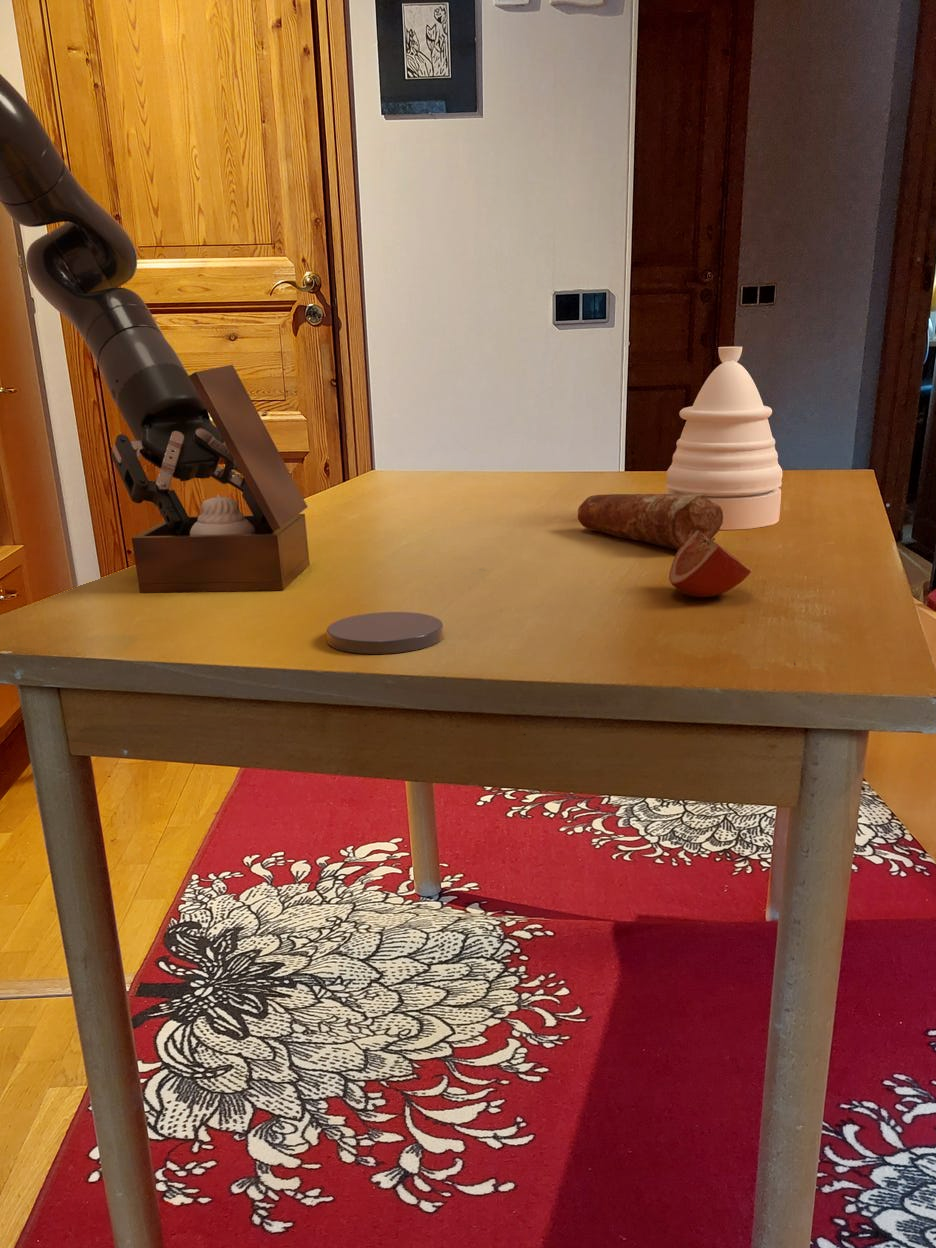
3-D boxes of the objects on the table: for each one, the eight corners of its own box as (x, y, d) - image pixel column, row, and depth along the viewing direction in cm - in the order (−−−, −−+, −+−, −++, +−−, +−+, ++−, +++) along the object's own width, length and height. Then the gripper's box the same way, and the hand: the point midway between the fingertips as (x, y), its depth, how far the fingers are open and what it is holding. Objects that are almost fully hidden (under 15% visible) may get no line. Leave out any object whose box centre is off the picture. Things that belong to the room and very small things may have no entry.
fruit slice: (660, 585, 104) (662, 528, 102) (735, 583, 104) (738, 525, 102) (677, 608, 97) (680, 547, 94) (758, 605, 97) (763, 543, 95)
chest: (139, 592, 109) (131, 537, 107) (178, 566, 119) (171, 516, 117) (283, 590, 108) (277, 535, 105) (309, 564, 118) (305, 513, 116)
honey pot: (665, 510, 140) (671, 347, 132) (775, 509, 138) (787, 343, 130) (663, 529, 129) (669, 352, 121) (783, 529, 127) (797, 348, 119)
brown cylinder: (678, 557, 115) (680, 499, 113) (568, 531, 130) (568, 479, 127) (727, 549, 118) (730, 492, 115) (614, 524, 133) (614, 473, 130)
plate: (316, 655, 87) (315, 641, 87) (339, 624, 95) (338, 612, 95) (436, 653, 87) (435, 640, 86) (449, 623, 95) (448, 610, 94)
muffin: (272, 567, 113) (264, 492, 110) (223, 578, 109) (214, 501, 106) (230, 560, 117) (221, 488, 114) (181, 572, 113) (170, 496, 110)
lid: (188, 375, 100) (195, 371, 100) (225, 368, 111) (232, 364, 110) (273, 531, 105) (280, 528, 105) (301, 510, 116) (308, 507, 116)
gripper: (89, 365, 106) (166, 507, 103) (227, 356, 115) (302, 488, 112) (76, 424, 112) (148, 560, 109) (208, 411, 121) (279, 538, 118)
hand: (226, 523), depth 110 cm, fingers open, 8 cm apart
